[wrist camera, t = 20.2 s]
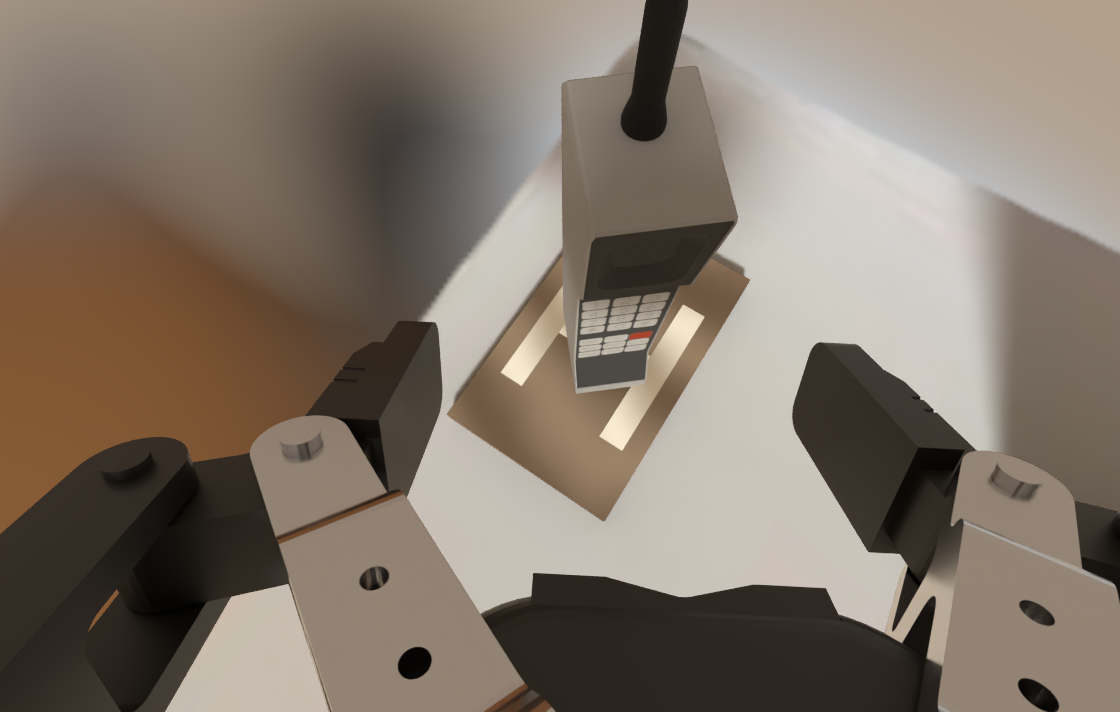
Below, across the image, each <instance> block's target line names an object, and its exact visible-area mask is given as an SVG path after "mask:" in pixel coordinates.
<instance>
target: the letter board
mask: <svg viewBox="0 0 1120 712" xmlns="http://www.w3.org/2000/svg"><path fill="white" fill-rule="evenodd" d="M749 281H750V279H748V278H746V277H744V276H743V275H741V274H739V273H737V272H735V271H734V270H732V269H730V268H728V267H726V266H725V265H723V264H721V263H719V262H717V261H716V260H714V259H711V260H710V261H709V263H708V264H707V265H706V267H705V268H704V270H703V271H702V272H701V274H700V275H699V277H698V278H697V279H696V281H695V282H694V283H693V285H692V286H681V287H680V289H679V291H678V293H677V295H676V297H675V299H674V301H673V303H672V305H671V307H670V309H669V311H668V313H667V315H666V317H665V319H664V321H663V323H662V326H661V328H660V330H659V332H658V334H657V336H656V338H655V340H654V342H653V344H652V346H651V348H650V350H649V353H648V365H647V377H646V381H645V383H644V385H639V386H631V387H624V388H616V389H609V390H601V391H593V392H586V393H578V394H576V393H575V388H574V381H573V374H572V367H571V361H570V354H569V347H568V340H567V333H566V326H565V320H564V313H563V255H562V257H561V258H560V259H559V261H558V262H557V264H556V265H555V266H554V268H553V269H552V270H551V272H550V273H549V275H548V276H547V277H546V279H545V280H544V281H543V283H542V284H541V286H540V287H539V288H538V290H537V291H536V292H535V294H534V295H533V296H532V298H531V299H530V301H529V302H528V303H527V305H526V306H525V307H524V309H523V310H522V312H521V313H520V314H519V316H518V317H517V318H516V320H515V321H514V323H513V324H512V325H511V327H510V328H509V329H508V331H507V332H506V333H505V335H504V336H503V338H502V339H501V340H500V342H499V343H498V344H497V346H496V347H495V349H494V350H493V351H492V353H491V354H490V355H489V357H488V358H487V360H486V361H485V362H484V364H483V365H482V366H481V368H480V369H479V370H478V372H477V373H476V375H475V376H474V377H473V379H472V380H471V381H470V383H469V384H468V386H467V387H466V388H465V390H464V391H463V392H462V394H461V395H460V397H459V398H458V399H457V401H456V402H455V403H454V405H453V406H452V407H451V409H450V410H449V412H448V413H447V415H448V416H449V417H450V418H451V419H453V420H454V421H456V422H457V423H459V424H460V425H462V426H463V427H465V428H466V429H468V430H469V431H471V432H472V433H474V434H475V435H476V436H478V437H479V438H481V439H482V440H484V441H485V442H487V443H488V444H490V445H491V446H493V447H494V448H496V449H497V450H499V451H500V452H502V453H503V454H504V455H506V456H507V457H509V458H510V459H512V460H513V461H515V462H516V463H518V464H519V465H521V466H522V467H524V468H525V469H527V470H528V471H530V472H531V473H533V474H534V475H535V476H537V477H538V478H540V479H541V480H543V481H544V482H546V483H547V484H549V485H550V486H552V487H553V488H555V489H556V490H558V491H559V492H561V493H562V494H563V495H565V496H566V497H568V498H569V499H571V500H572V501H574V502H575V503H577V504H578V505H580V506H581V507H583V508H584V509H586V510H587V511H589V512H590V513H591V514H593V515H594V516H596V517H597V518H599V519H600V520H602V521H605V520H606V518H607V516H608V515H609V513H610V511H611V510H612V508H613V507H614V505H615V503H616V502H617V500H618V498H619V497H620V495H621V493H622V492H623V490H624V488H625V487H626V485H627V483H628V482H629V480H630V478H631V477H632V475H633V473H634V472H635V470H636V468H637V467H638V465H639V463H640V462H641V460H642V458H643V457H644V455H645V454H646V452H647V450H648V449H649V447H650V445H651V444H652V442H653V440H654V439H655V437H656V435H657V434H658V432H659V430H660V429H661V427H662V425H663V424H664V422H665V420H666V419H667V417H668V415H669V414H670V412H671V410H672V409H673V407H674V405H675V404H676V402H677V400H678V399H679V397H680V396H681V394H682V392H683V391H684V389H685V387H686V386H687V384H688V382H689V381H690V379H691V377H692V376H693V374H694V372H695V371H696V369H697V367H698V366H699V364H700V362H701V361H702V359H703V357H704V356H705V354H706V352H707V351H708V349H709V347H710V346H711V344H712V343H713V341H714V339H715V338H716V336H717V334H718V333H719V331H720V329H721V328H722V326H723V324H724V323H725V321H726V319H727V318H728V316H729V314H730V313H731V311H732V309H733V308H734V306H735V304H736V303H737V301H738V299H739V298H740V296H741V294H742V293H743V291H744V290H745V288H746V286H747V285H748V283H749Z"/></svg>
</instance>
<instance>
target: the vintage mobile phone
mask: <svg viewBox="0 0 1120 712" xmlns="http://www.w3.org/2000/svg"><path fill="white" fill-rule="evenodd" d="M687 8H688V0H646V3H645V9H644V15H643V23H642V28H641V35H640V41H639V47H638V54H637V60H636V67H635V73H628V74H619V75H610V76H601V77H593V78H584V79H575V80H568V81H566V82H564V83H562V227H563V313H564V320H565V326H566V333H567V340H568V347H569V354H570V361H571V367H572V374H573V381H574V388H575V393H576V394H578V393H586V392H593V391H601V390H609V389H616V388H624V387H631V386H639V385H644V383H645V381H646V377H647V365H648V353H649V350H650V348H651V346H652V344H653V342H654V340H655V338H656V336H657V334H658V332H659V330H660V328H661V326H662V323H663V321H664V319H665V317H666V315H667V313H668V311H669V309H670V307H671V305H672V303H673V301H674V299H675V297H676V295H677V293H678V291H679V289H680V287H681V286H692V285H693V283H694V282H695V281H696V279H697V278H698V277H699V275H700V274H701V272H702V271H703V270H704V268H705V267H706V265H707V264H708V263H709V261H710V260H711V259H712V257H713V256H714V254H715V253H716V252H717V250H718V249H719V247H720V246H721V245H722V243H723V242H724V241H725V239H726V238H727V236H728V235H729V234H730V232H731V231H732V229H733V228H734V227H735V225H736V224H737V220H738V215H737V211H736V208H735V204H734V200H733V197H732V193H731V189H730V185H729V182H728V178H727V174H726V171H725V167H724V163H723V159H722V156H721V152H720V148H719V145H718V141H717V137H716V133H715V130H714V126H713V122H712V119H711V115H710V111H709V108H708V104H707V100H706V96H705V93H704V89H703V85H702V82H701V78H700V74H699V70H698V68H697V67H696V66H689V67H681V68H673V67H674V62H675V58H676V54H677V50H678V46H679V42H680V37H681V33H682V29H683V25H684V21H685V17H686V12H687Z"/></svg>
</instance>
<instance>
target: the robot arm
mask: <svg viewBox="0 0 1120 712" xmlns="http://www.w3.org/2000/svg"><path fill="white" fill-rule="evenodd" d="M441 402H442V376H441V362H440V347H439V334H438V328H437V325H436V323H435V322H417V321H398V322H397V324H396V325H395V327H394V328H393V330H392V331H391V332H390V334H389V335H388V337H387V338H386V340H385V341H384V342H371V343H370V344H368V345H366V346H365V347H363V348H361V349H360V350H358V351H356V352H355V353H353V354H352V356H351V357H350V358H349V360H348V361H347V362H346V363H345V365H344V366H343V370H340V371H339V373H338V374H337V375H336V376H335V378H334V382H331V383H330V384H329V386H328V387H327V388H326V389H325V391H324V392H323V393H322V395H321V396H320V397H319V399H318V400H317V401H316V403H315V404H314V405H313V406H312V408H311V409H310V410H309V412H308V413H307V414H306V415H305V416H304V417H298V418H294V419H290V420H287V421H284V422H282V423H279V424H277V425H275V426H273V427H271V428H270V429H268V430H267V431H265V432H264V433H262V434H261V435H260V436H259V437H258V438H257V439H256V441H255V442H254V443H253V445H252V447H251V450H250V453H247V454H243V455H238V456H231V457H225V458H218V459H211V460H205V461H199V462H192V460H191V457H190V455H189V453H188V449H187V447H186V446H185V444H183V443H182V442H180V441H178V440H176V439H172V438H166V437H151V438H143V439H137V440H132V441H129V442H126V443H122V444H119V445H116V446H113V447H111V448H108V449H106V450H104V451H102V452H100V453H98V454H96V455H94V456H92V457H91V458H89V459H87V460H86V461H84V462H83V463H82V464H80V465H79V466H78V467H77V468H75V469H74V470H73V471H72V472H71V473H70V474H69V475H67V476H66V477H65V478H64V479H63V480H62V481H61V482H59V483H58V484H57V485H56V486H55V487H54V488H52V489H51V490H50V491H49V492H48V493H47V494H46V495H45V496H43V497H42V498H41V499H40V500H39V501H38V502H36V503H35V504H34V505H33V506H32V507H31V508H30V509H28V510H27V511H26V512H25V513H24V514H23V515H22V516H21V517H19V518H18V519H17V520H16V521H15V522H14V523H12V524H11V525H10V526H9V527H8V528H7V529H6V530H5V531H3V532H2V533H1V534H0V712H165V711H166V709H167V707H168V705H169V704H170V702H171V700H172V698H173V697H174V695H175V693H176V692H177V690H178V688H179V686H180V685H181V683H182V681H183V679H184V678H185V676H186V674H187V672H188V671H189V669H190V667H191V665H192V664H193V662H194V660H195V659H196V657H197V655H198V653H199V652H200V650H201V648H202V646H203V645H204V643H205V641H206V639H207V638H208V636H209V634H210V632H211V631H212V629H213V627H214V625H215V624H216V622H217V620H218V619H219V617H220V615H221V613H222V612H223V610H224V608H225V606H226V605H227V603H228V601H229V599H230V598H231V596H236V595H240V594H245V593H249V592H254V591H258V590H263V589H267V588H272V587H276V586H281V585H285V584H289V587H290V590H291V593H292V597H293V600H294V603H295V606H296V609H297V612H298V616H299V619H300V622H301V625H302V628H303V631H304V635H305V638H306V641H307V644H308V647H309V650H310V654H311V657H312V660H313V663H314V666H315V669H316V673H317V676H318V679H319V682H320V685H321V689H322V692H323V695H324V698H325V702H326V705H327V708H328V711H329V712H1120V510H1119V512H1117V511H1113V510H1109V509H1105V508H1101V507H1097V506H1093V505H1089V504H1084V503H1080V502H1076V501H1074V499H1073V496H1072V494H1071V493H1070V491H1069V490H1068V489H1067V488H1066V487H1065V486H1064V485H1063V484H1062V483H1061V482H1060V481H1059V480H1057V479H1056V478H1055V477H1053V476H1052V475H1050V474H1049V473H1047V472H1045V471H1044V470H1042V469H1040V468H1038V467H1036V466H1035V465H1032V464H1030V463H1028V462H1026V461H1023V460H1021V459H1018V458H1015V457H1012V456H1009V455H1006V454H1002V453H997V452H991V451H977V450H975V449H974V448H973V447H972V446H971V445H970V444H969V443H968V442H967V441H966V440H965V439H964V438H963V437H962V436H961V435H960V434H959V433H958V432H957V431H956V430H954V429H953V428H952V427H951V426H950V425H949V424H948V423H947V422H946V421H945V420H944V419H943V418H942V417H941V416H940V415H939V414H938V413H934V412H933V409H932V408H931V407H930V406H929V405H928V404H927V403H926V402H925V401H924V400H920V396H919V395H918V394H917V393H916V392H915V391H914V390H913V389H911V388H910V387H909V386H908V385H907V384H906V383H905V382H904V381H902V380H900V379H899V378H897V377H895V376H893V375H892V374H890V373H888V372H886V371H885V370H883V369H882V368H881V367H880V366H879V365H878V364H877V363H876V362H875V361H874V360H873V359H872V358H871V357H870V356H869V355H868V354H867V353H866V352H865V351H864V350H863V349H862V348H861V347H859V346H858V345H856V344H840V343H821V342H820V343H817V344H816V345H815V346H814V347H813V348H812V350H811V352H810V354H809V357H808V361H807V364H806V367H805V370H804V373H803V376H802V380H801V383H800V386H799V389H798V392H797V395H796V398H795V402H794V405H793V413H792V418H793V426H794V429H795V432H796V434H797V435H798V437H799V439H800V440H801V442H802V444H803V445H804V447H805V449H806V450H807V452H808V453H809V455H810V457H811V458H812V460H813V462H814V463H815V465H816V467H817V468H818V470H819V472H820V473H821V475H822V477H823V478H824V480H825V481H826V483H827V485H828V486H829V488H830V490H831V491H832V493H833V495H834V496H835V498H836V500H837V501H838V503H839V505H840V506H841V508H842V509H843V511H844V513H845V514H846V516H847V518H848V519H849V521H850V523H851V524H852V526H853V528H854V529H855V531H856V533H857V534H858V536H859V537H860V539H861V541H862V542H863V544H864V546H865V547H866V549H867V551H868V552H876V553H895V554H900V555H901V556H902V558H903V559H904V561H905V562H906V565H905V566H904V568H903V570H902V572H901V574H900V576H899V580H898V584H897V588H896V591H895V595H894V599H893V603H892V607H891V610H890V614H889V618H888V622H887V625H886V629H885V633H883V632H881V631H879V630H877V629H875V628H873V627H870V626H868V625H866V624H864V623H861V622H859V621H856V620H853V619H851V618H848V617H845V616H842V615H838V613H837V611H836V609H835V607H834V605H833V603H832V600H831V598H830V596H829V594H828V592H827V590H826V588H809V587H790V586H771V585H749V586H744V587H739V588H734V589H729V590H724V591H719V592H714V593H709V594H703V595H698V596H693V597H677V596H673V595H669V594H665V593H662V592H658V591H655V590H651V589H647V588H644V587H640V586H637V585H633V584H629V583H626V582H622V581H618V580H615V579H611V578H608V577H599V576H580V575H560V574H541V573H533V583H532V596H531V597H526V598H521V599H517V600H513V601H510V602H507V603H504V604H501V605H499V606H496V607H494V608H492V609H490V610H487V611H485V612H483V613H482V614H480V613H479V611H478V610H477V608H476V606H475V605H474V603H473V602H472V600H471V599H470V597H469V595H468V594H467V592H466V591H465V589H464V588H463V586H462V584H461V583H460V581H459V580H458V578H457V577H456V575H455V573H454V572H453V570H452V569H451V567H450V565H449V564H448V562H447V561H446V559H445V558H444V556H443V554H442V553H441V551H440V550H439V548H438V547H437V545H436V543H435V542H434V540H433V539H432V537H431V536H430V534H429V532H428V531H427V529H426V528H425V526H424V524H423V523H422V521H421V520H420V518H419V517H418V515H417V513H416V512H415V510H414V509H413V507H412V506H411V504H410V502H409V501H408V499H407V496H408V493H409V491H410V488H411V485H412V483H413V480H414V478H415V475H416V472H417V470H418V467H419V465H420V462H421V460H422V457H423V454H424V452H425V449H426V447H427V444H428V442H429V439H430V436H431V434H432V431H433V429H434V426H435V423H436V421H437V418H438V416H439V413H440V408H441ZM116 589H117V590H118V592H119V594H118V595H117V597H116V598H115V599H114V600H113V602H112V603H111V604H110V606H109V607H108V608H107V609H106V611H105V612H104V613H103V614H102V616H101V617H100V618H99V619H98V621H97V622H96V623H95V625H94V626H93V627H92V628H91V630H90V631H89V632H88V630H89V628H90V626H91V623H92V621H93V619H94V618H95V616H96V615H97V613H98V612H99V611H100V609H101V608H102V607H103V605H104V604H105V603H106V602H107V601H108V599H109V598H110V597H111V596H112V594H113V593H114V592H115V591H116Z"/></svg>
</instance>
